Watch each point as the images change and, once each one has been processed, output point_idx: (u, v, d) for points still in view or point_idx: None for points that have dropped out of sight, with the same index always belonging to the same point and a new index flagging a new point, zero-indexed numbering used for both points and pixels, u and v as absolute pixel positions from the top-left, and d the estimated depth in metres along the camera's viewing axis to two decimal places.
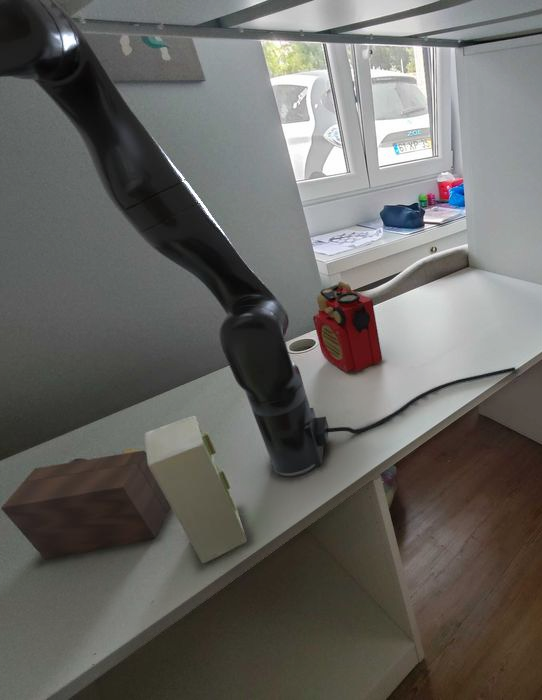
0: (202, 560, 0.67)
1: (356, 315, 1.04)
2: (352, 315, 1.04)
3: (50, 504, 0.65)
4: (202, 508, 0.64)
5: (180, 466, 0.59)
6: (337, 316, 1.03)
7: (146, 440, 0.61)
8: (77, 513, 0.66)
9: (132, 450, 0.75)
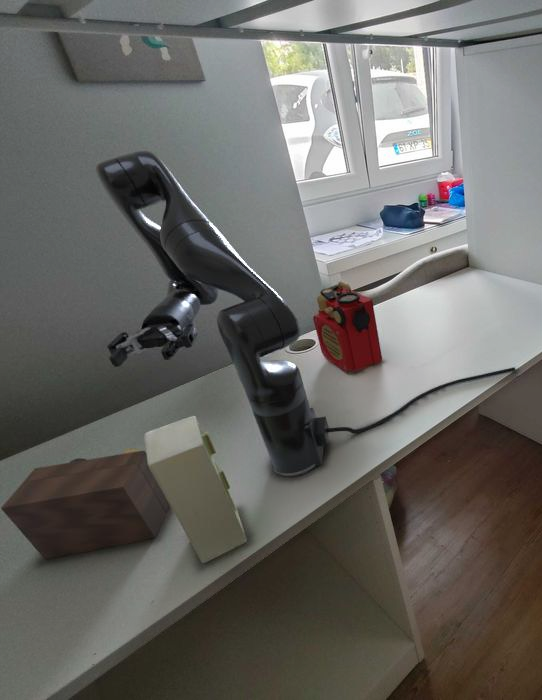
0: (202, 560, 0.67)
1: (356, 315, 1.04)
2: (352, 315, 1.04)
3: (50, 504, 0.65)
4: (202, 508, 0.64)
5: (180, 466, 0.59)
6: (337, 316, 1.03)
7: (146, 440, 0.61)
8: (77, 513, 0.66)
9: (132, 450, 0.75)
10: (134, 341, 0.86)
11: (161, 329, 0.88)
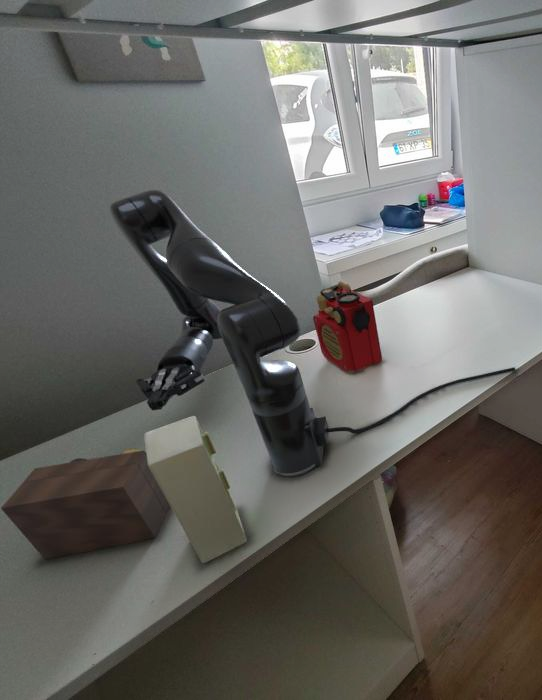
0: (202, 560, 0.67)
1: (356, 315, 1.04)
2: (352, 315, 1.04)
3: (50, 504, 0.65)
4: (202, 509, 0.64)
5: (180, 466, 0.59)
6: (337, 316, 1.03)
7: (146, 440, 0.61)
8: (77, 513, 0.66)
9: (132, 450, 0.75)
10: (163, 382, 0.90)
11: (172, 371, 0.91)
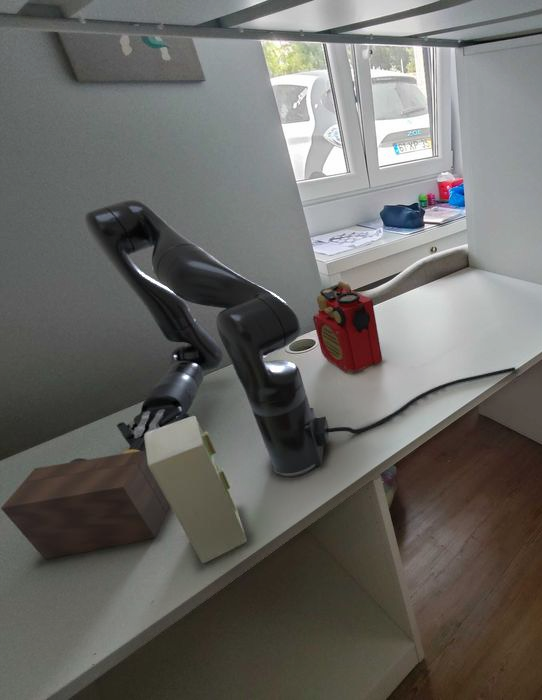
0: (202, 560, 0.67)
1: (356, 315, 1.04)
2: (352, 315, 1.04)
3: (50, 504, 0.65)
4: (202, 509, 0.64)
5: (180, 466, 0.59)
6: (337, 316, 1.03)
7: (146, 440, 0.61)
8: (77, 513, 0.66)
9: (132, 450, 0.75)
10: (146, 427, 0.82)
11: (157, 414, 0.83)
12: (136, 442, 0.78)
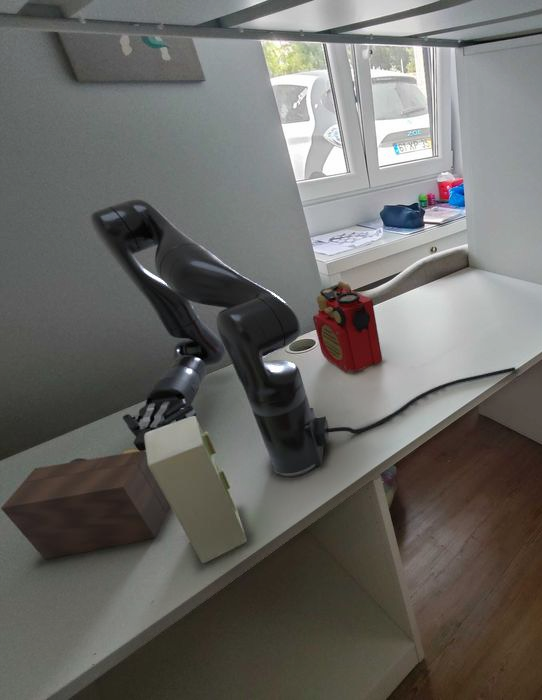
0: (202, 560, 0.67)
1: (356, 315, 1.04)
2: (352, 315, 1.04)
3: (50, 504, 0.65)
4: (202, 509, 0.64)
5: (180, 466, 0.59)
6: (337, 316, 1.03)
7: (146, 440, 0.61)
8: (77, 513, 0.66)
9: (132, 450, 0.75)
10: (151, 419, 0.84)
11: (162, 407, 0.85)
12: (142, 433, 0.80)
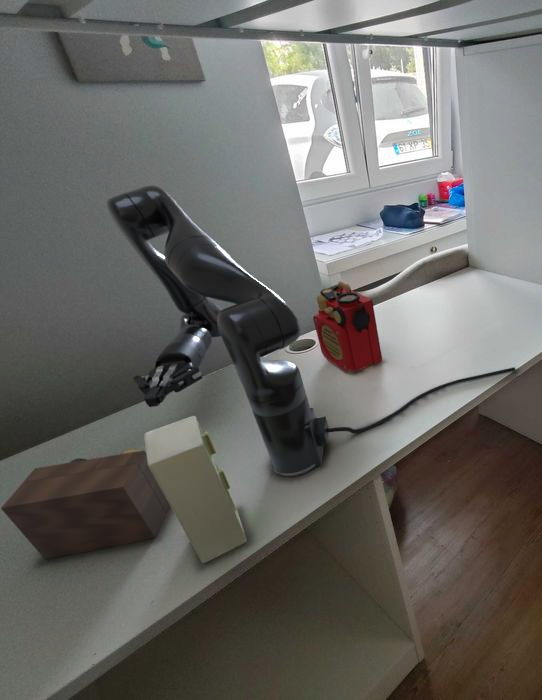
0: (202, 560, 0.67)
1: (356, 315, 1.04)
2: (352, 315, 1.04)
3: (50, 504, 0.65)
4: (202, 509, 0.64)
5: (180, 466, 0.59)
6: (337, 316, 1.03)
7: (146, 440, 0.61)
8: (77, 513, 0.66)
9: (132, 450, 0.75)
10: (160, 379, 0.89)
11: (170, 368, 0.90)
12: (152, 390, 0.85)
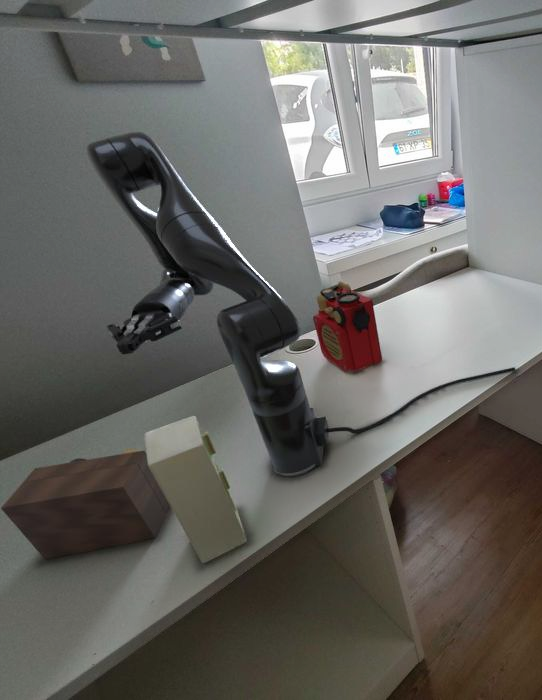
0: (202, 560, 0.67)
1: (356, 315, 1.04)
2: (352, 315, 1.04)
3: (50, 504, 0.65)
4: (202, 509, 0.64)
5: (180, 466, 0.59)
6: (337, 316, 1.03)
7: (146, 440, 0.61)
8: (77, 513, 0.66)
9: (132, 450, 0.75)
10: (136, 327, 0.83)
11: (147, 317, 0.85)
12: (125, 337, 0.79)
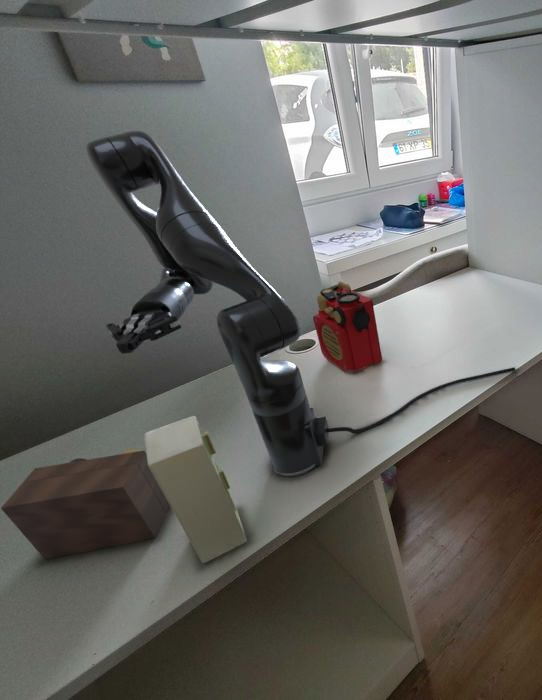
0: (202, 560, 0.67)
1: (356, 315, 1.04)
2: (352, 315, 1.04)
3: (50, 504, 0.65)
4: (202, 509, 0.64)
5: (180, 466, 0.59)
6: (337, 316, 1.03)
7: (146, 440, 0.61)
8: (77, 513, 0.66)
9: (132, 450, 0.75)
10: (135, 326, 0.83)
11: (146, 316, 0.85)
12: (125, 336, 0.79)
